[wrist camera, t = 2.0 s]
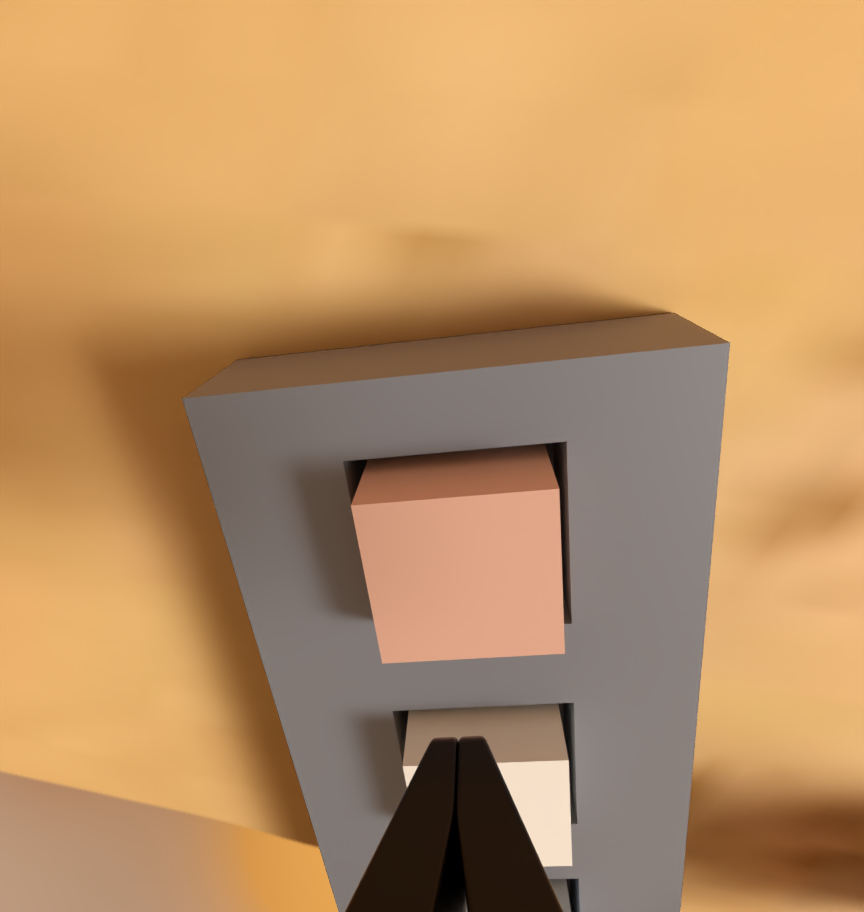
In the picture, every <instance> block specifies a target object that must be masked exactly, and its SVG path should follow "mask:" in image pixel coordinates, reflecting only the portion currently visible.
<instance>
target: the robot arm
mask: <svg viewBox="0 0 864 912" xmlns="http://www.w3.org/2000/svg"><path fill="white" fill-rule="evenodd" d="M466 906H467V911H468V912H563V910H562V907H561V905H560V903H559V901H558V898H557V896H556V894H555V892H554V890H553V887H552V885H551V883H550V881H549V878H548V876H547V874H546V872H545V870H544V867H543V865H542V863H541V861H540V858H539V856H538V854H537V852H536V850H535V847H534V845H533V843H532V841H531V838H530V836H529V834H528V832H527V829H526V827H525V825H524V823H523V821H522V818H521V816H520V814H519V812H518V809H517V807H516V805H515V803H514V801H513V798H512V796H511V794H510V792H509V789H508V787H507V785H506V783H505V781H504V778H503V776H502V774H501V772H500V769H499V767H498V765H497V763H496V761H495V758H494V756H493V754H492V752H491V749H490V747H489V745H488V743H487V741H486V739H485V738H484V737H483V736H463V737H461V738H460V739H459V741H458V739H457V738H455V737H439V738H434V739H432V740H431V742H430V743H429V745H428V747H427V749H426V751H425V753H424V755H423V757H422V759H421V761H420V763H419V765H418V767H417V769H416V771H415V773H414V775H413V777H412V779H411V781H410V783H409V785H408V787H407V789H406V791H405V793H404V795H403V797H402V799H401V801H400V803H399V805H398V807H397V809H396V811H395V813H394V815H393V817H392V819H391V821H390V823H389V825H388V827H387V829H386V831H385V833H384V835H383V837H382V839H381V841H380V843H379V845H378V846H377V848H376V850H375V852H374V854H373V856H372V858H371V860H370V862H369V864H368V866H367V868H366V870H365V872H364V874H363V876H362V878H361V880H360V882H359V884H358V886H357V888H356V890H355V892H354V894H353V896H352V898H351V900H350V902H349V904H348V906H347V908H346V910H345V912H466Z"/></svg>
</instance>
